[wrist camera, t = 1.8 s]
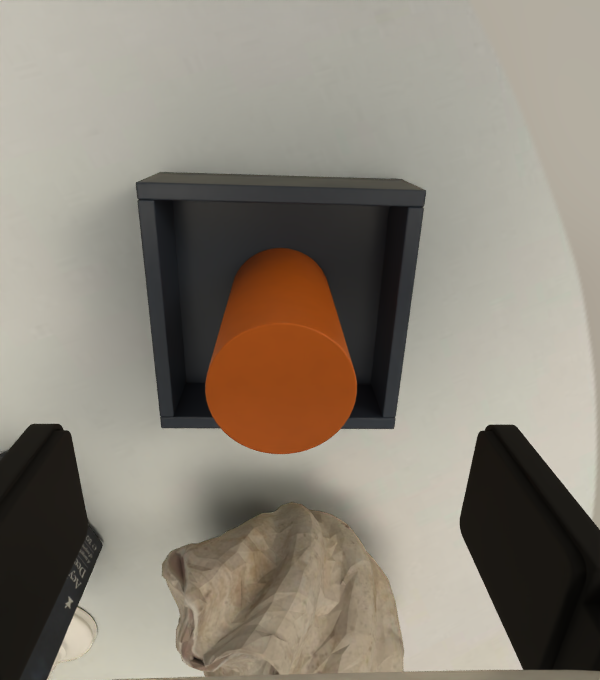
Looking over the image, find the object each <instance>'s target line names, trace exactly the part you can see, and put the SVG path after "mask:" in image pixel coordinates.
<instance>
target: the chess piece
mask: <svg viewBox="0 0 600 680" xmlns="http://www.w3.org/2000/svg"><path fill="white" fill-rule="evenodd" d="M96 635H97V626H96V623H95V621H94V620H93V618H92V617H91V616H90V615H89V614H88V613H86V612H85V611H84V610H82V609H80V608H78V607H77V608H76V611H75V613H74V616H73V618H72V620H71V623H70V625H69V627H68V630H67V632H66V635H65V637H64V640H63V642H62V645H61V647H60V649H59V652H58V654H57V657H56V659H55V661H54V664H53V666H52V669H51V671H50V674H49V676H48V678H47V680H48V679H49V677H50V676H51V674H52V672H53V670H54V668H55V667H56V665H57V664H58V663H60V662H65V661H70V660H74V659H77V658H79V657H81V656H82V655H84V654H85V653H86V652H87V651H88V650H89V649H90V647H91V646H92V643H93V641H94V640H95V638H96Z"/></svg>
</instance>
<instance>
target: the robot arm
mask: <svg viewBox="0 0 600 680" xmlns="http://www.w3.org/2000/svg"><path fill="white" fill-rule="evenodd" d="M87 530H88V520H87V515H86V510H85V505H84V500H83V494H82V489H81V484H80V479H79V473H78V468H77V463H76V458H75V453H74V447H73V442H72V437H71V433H70V432H69V431H64V430H63V428H62V426H61V425H59V424H32V425H30V426H29V427H28V428H27V429H26V430H25V431H24V433H23V434H22V435H21V436H20V437H19V439H18V440H17V441H16V442H15V443H14V445H13V446H12V447H11V448H10V449H9V450H8V452H7V453H6V454H5V455H4V456H3V458H2V459H1V460H0V680H20V677H21V675H22V673H23V671H24V669H25V667H26V665H27V662H28V660H29V658H30V656H31V654H32V652H33V650H34V648H35V645H36V643H37V641H38V639H39V637H40V635H41V633H42V630H43V628H44V626H45V624H46V622H47V620H48V618H49V615H50V613H51V611H52V609H53V607H54V605H55V603H56V600H57V598H58V596H59V594H60V592H61V590H62V588H63V586H64V583H65V581H66V579H67V577H68V575H69V573H70V571H71V568H72V566H73V564H74V562H75V560H76V558H77V556H78V553H79V551H80V549H81V547H82V545H83V543H84V541H85V538H86V535H87ZM460 530H461V534H462V536H463V538H464V541H465V543H466V545H467V547H468V549H469V552H470V554H471V556H472V558H473V560H474V563H475V565H476V567H477V569H478V571H479V573H480V576H481V578H482V580H483V582H484V584H485V587H486V589H487V591H488V593H489V595H490V598H491V600H492V602H493V604H494V606H495V609H496V611H497V613H498V615H499V617H500V620H501V622H502V624H503V626H504V628H505V631H506V633H507V635H508V637H509V639H510V641H511V644H512V646H513V648H514V650H515V652H516V655H517V657H518V659H519V661H520V663H521V666H522V668H523V670H466V671H416V672H366V673H325V674H285V675H248V676H210V677H177V678H146V679H114V680H600V530H599V528H598V527H597V526H596V525H595V524H594V522H593V521H592V520H591V518H590V517H589V516H588V515H587V514H586V512H585V511H584V510H583V509H582V507H581V506H580V505H579V504H578V502H577V501H576V500H575V499H574V497H573V496H572V495H571V494H570V492H569V491H568V490H567V489H566V487H565V486H564V485H563V484H562V482H561V481H560V480H559V479H558V478H557V476H556V475H555V474H554V473H553V471H552V470H551V469H550V468H549V466H548V465H547V464H546V463H545V461H544V460H543V459H542V458H541V456H540V455H539V454H538V453H537V451H536V450H535V449H534V448H533V446H532V445H531V444H530V443H529V442H528V440H527V439H526V438H525V437H524V435H523V434H522V433H521V432H520V430H519V429H518V428H517V427H516V426H515V425H488V426H487V427H486V429H485V431H480V432H479V434H478V437H477V441H476V446H475V451H474V455H473V460H472V464H471V469H470V474H469V478H468V483H467V488H466V492H465V497H464V502H463V506H462V511H461V516H460Z"/></svg>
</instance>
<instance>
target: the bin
mask: <svg viewBox="0 0 600 680" xmlns="http://www.w3.org/2000/svg"><path fill="white" fill-rule="evenodd" d="M136 190H137V198H138V199H139V200H138V210H139V219H140V229H141V238H142V248H143V258H144V267H145V277H146V286H147V296H148V305H149V315H150V324H151V334H152V343H153V353H154V362H155V372H156V381H157V391H158V401H159V410H160V416H161V417H160V419H161V427H162V428H220V427H219V426H218V424H217V423H216V421H215V420H214V418H213V417H212V414H211V412H210V410H209V407H208V404H207V401H206V394H205V382H206V377H207V372H208V369H209V365H210V362H211V358H212V355H213V351H214V348H215V344H216V341H217V337H218V334H219V330H220V327H221V323H222V320H223V316H224V313H225V309H226V306H227V302H228V299H229V295H230V292H231V288H232V285H233V281H234V278H235V276H236V274H237V272H238V270H239V269H240V268H241V266H242V265H243V264H244V263H245V262H246V261H247V260H248V259H249V258H251V257H252V256H254V255H255V254H257V253H259V252H262V251H265V250H268V249H273V248H288V249H292V250H296V251H299V252H301V253H303V254H305V255H307V256H309V257H310V258H311V259H313V260H314V261H315V262H316V263H317V264H318V265H319V267H320V268H321V269H322V271H323V272H324V274H325V276H326V279H327V282H328V285H329V288H330V292H331V295H332V298H333V301H334V305H335V308H336V311H337V315H338V318H339V321H340V325H341V328H342V331H343V334H344V338H345V341H346V344H347V348H348V351H349V354H350V358H351V361H352V364H353V368H354V371H355V374H356V380H357V395H356V401H355V404H354V407H353V410H352V412H351V414H350V416H349V418H348V419H347V421H346V422H345V424H344V425H343V426H342V427H341V429H394V425H395V416H396V410H397V403H398V396H399V388H400V381H401V373H402V366H403V359H404V351H405V344H406V337H407V329H408V322H409V314H410V307H411V300H412V292H413V285H414V278H415V270H416V263H417V255H418V248H419V241H420V233H421V226H422V218H423V211H424V208H423V207H424V204H425V196H426V190H424V189H421V188H419V187H417V186H415V185H413V184H411V183H409V182H407V181H404V180H402V179H376V178H342V177H308V176H275V175H241V174H207V173H173V172H159V173H157V174H155V175H152V176H150V177H148V178H145V179H143V180H141V181H138V182H136Z"/></svg>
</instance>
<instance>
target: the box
mask: <svg viewBox="0 0 600 680" xmlns="http://www.w3.org/2000/svg"><path fill="white" fill-rule="evenodd" d="M7 452H8V451H7ZM7 452H4V453H2V454H0V460H1V459H2V458H3V456H4V455H5V454H6V453H7ZM102 546H103V545H102V543H101V541H100V540H99V539H98V538H97V536H96V535H95V534H94V533H93V531H92V530H91V528H90V527H89V526H88V530H87V535H86V538H85V541H84V543H83V545H82V547H81V549H80V551H79V553H78V556H77V558H76V560H75V562H74V564H73V566H72V568H71V571H70V573H69V575H68V577H67V579H66V581H65V583H64V586H63V588H62V590H61V592H60V594H59V596H58V598H57V600H56V603H55V605H54V607H53V609H52V611H51V613H50V615H49V618H48V620H47V622H46V624H45V626H44V628H43V630H42V633H41V635H40V637H39V639H38V641H37V643H36V645H35V648H34V650H33V652H32V654H31V656H30V658H29V660H28V662H27V665H26V667H25V669H24V671H23V673H22V675H21V677H20V680H47V678H48V676H49V674H50V671H51V669H52V666H53V664H54V661H55V659H56V657H57V654H58V652H59V649H60V647H61V645H62V642H63V640H64V637H65V635H66V632H67V630H68V627H69V625H70V623H71V620H72V618H73V616H74V613H75V611H76V608H77V606H78V603H79V601H80V599H81V597H82V595H83V592H84V589H85V587H86V585H87V582H88V580H89V577H90V575H91V573H92V570H93V568H94V565H95V563H96V560H97V558H98V556H99V553H100V551H101V548H102Z"/></svg>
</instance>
